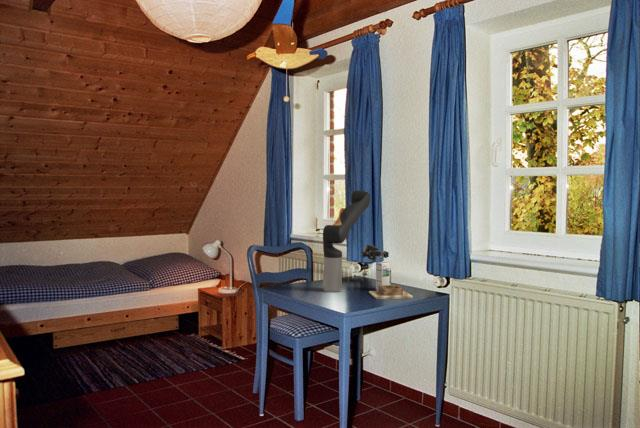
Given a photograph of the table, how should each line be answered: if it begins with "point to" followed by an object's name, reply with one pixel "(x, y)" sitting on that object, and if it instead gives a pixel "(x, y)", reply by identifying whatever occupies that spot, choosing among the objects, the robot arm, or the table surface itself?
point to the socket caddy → (390, 292)
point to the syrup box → (383, 273)
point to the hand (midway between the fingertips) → (378, 256)
